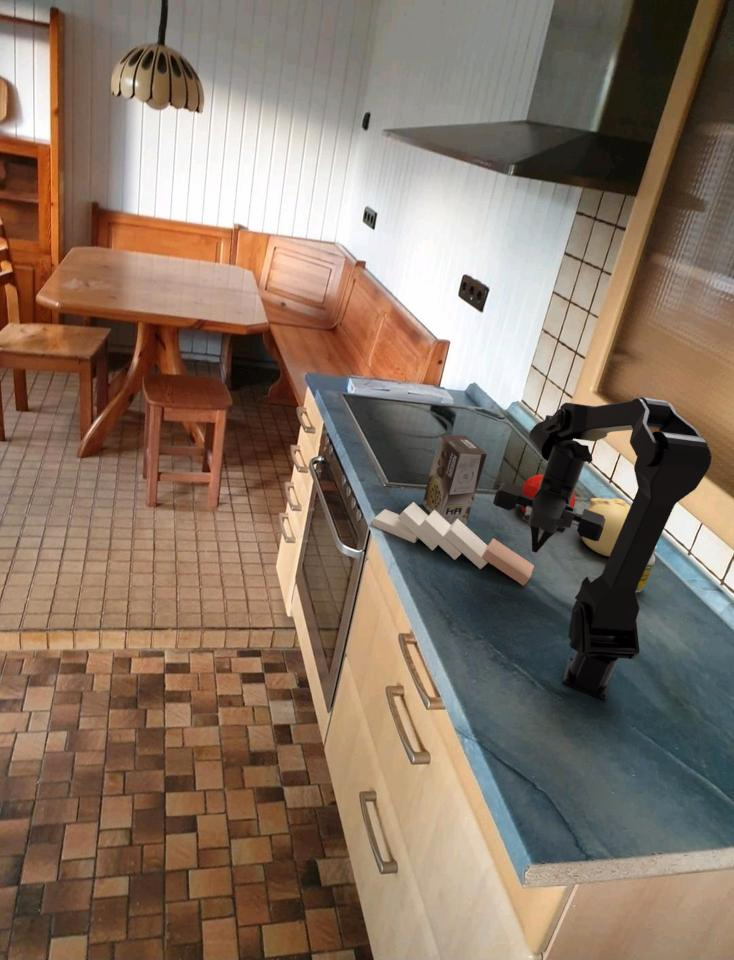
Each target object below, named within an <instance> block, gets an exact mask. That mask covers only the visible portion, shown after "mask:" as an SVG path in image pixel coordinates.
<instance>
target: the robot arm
mask: <svg viewBox="0 0 734 960" xmlns="http://www.w3.org/2000/svg"><path fill="white" fill-rule="evenodd" d="M651 429H655V430H657V431H653V432H652V431H651ZM623 431H632V432H631V435H630V438H629V444H630V446H631V448H632V450H633V452H634V454H635V456H636V459H635V462H634V463H635V464H634V467H633V471H634V475H635V479H636V484H637V491H636V493H635V495H634V498H633V501H632V503H631V504H630V506H631V507H630V510H629V512H628V514H627V517H626V519H625V521H624V524H623V526H622V528H621V531H620V533H619V535H618V538H617V540H616V542H615V545H614V547H613V550H612V552H611V554H610V557H609V556H608V559H607V561H606V564H605V565H604V569H603V571H602V573H601V574H600V575H599V576H598V577H594V576H585V577H584V579H583V580H582V582H581V584H580V585H581V586H580V587H579V588H580V589H579V591H578V593H577V594H576V596H574V599H575V602H574V605H573V606H572V610H571V611H572V612H571V616H570V622H569V630H568V635H567V636H568V638H569V640H570V643H569V647H570V648H571V649H572V650H574V651H575V654H574V656H573V657H568V659H567V662H566V665H565V671H564V675H563V679H562V682H563V684H565V685H566V686H569V687H571V688H573V689H576V690H578V691H579V692H580V691H581V692H583V693H585V694H588V695H590V696H592V697H595V698H597V699H599V700H602V701H606V700H607V698H608V696H609V695H608V694H609V689H610V682H611V676H612V674H613V672H614V670H615V667H616V664H617V663H618V660H619V659H628V660H634V659H635V658H636V657H637V656H638V655H639V654H640V644H639V642H640V641H639V635H638V634H639V632H638V623H637V618H638V616H639V613H640V610H641V608H640V604H639V600H638V596H637V595H638V594H637V593H636V589H637V586H638V584H639V582H640V580H641V578H642V575H643V573H644V571H645V569H646V567H647V564H648V562H649V560H650V558H651V556H652V554H653V551H654V549H655V547H656V545H658V542H659V540H660V538H661V536H662V534H663V531H664V529H665V527H666V525H667V523H668V521H669V519H670V517H671V514H672V512H673V510H674V507H675V505H676V504H677V503H679V502H680V501H682V500H683V499H684V498H686V496H688V495H690V493H692V492H694V491H695V490H696V489H697V487H698V486H699V485H700V483H701V482H702V481H703V478H704V477H705V475H706V474H707V472H708V471H709V468H710V467H711V463H712V458H713V457H712V453H711V449H710V448H709V444H708V443H707V442H706V440H705V439H704V438H703V437H702V435H701V434H700V432H699V430H698V429H697V428H695V427H694V426H693V425H692V424H691V423H689V421H687V420H686V419H684V418H683V417H682V416H681V415H679V414H678V413H677V411H676V409H675V407H674V406H673V405H672V404H671V402H670V403H669V402H668V401H667V400H664V399H663V400H661V399H655V398H649V397H642V396H640V397H638V398H634V399H632V400H626V401H620V402H614V403H607V404H602V405H601V404H600V405H587V404H579V403H574V402H573V403H572V402H564V403H563V404H561V405H560V406H559V408H558V409H557V410H556V412H554V413H553V415H548V414H547V415H545V418H544V420H543V421H540V422H538V423H537V424H535V425H534V426H533V427H532V429H531V430H530V431H529V435H528V440H529V442H530V445H531V446H532V447H533V448H534V449H535V451H537V453H538V454H539V455H540V456H541V458H542V459H544V460H545V461H546V462H547V463H546V466H545V469H544V471H543V474H542V475H543V477H542V480H541V483H540V486H539V489H538V491H537V492H536V494H535V497H534V498H531V497H528V496H526V495H523V494H522V493H523V490H524V488H523V487H522V486H520V485H518V484H515V483H511V482H509V481H504V482H502V483H501V484H500V486H499V487H498V489H497V491H496V493H495V496H494V498H493V501H492V504H493V505H494V506H496V507H499V508H501V509H503V510H507V511H511V510H514V509H516V506H517V505H518V506H520V507H521V506H524V507H526V512H525V513H524V515H523V518H522V519H523V520H524V521H526V522H528V525H530V526H529V527H530V532H531V551H532V552H533V553H535V554H537V553H538V552H539V551H540V550H541V548H542V547H543V546H544V544H546V542H547V541H548V540H549V539H550V538H551V537H552V536H553V535H555V534H556V533H560V534H563V533H565V530H566V528H568V529H570V528H571V527H572V525H575V526H577V529H576V531H577V533H578V535H579V536H580V537H581V538H582V537H584V538H587V539H590V540H593V541H599V539H600V536H601V534H602V531H603V528H604V524H605V518H604V515H601V514H598V513H595V512H592V511H589V510H587V509H588V508H587V509H586V508H584V509H583V511H582V514H580V513H577V510H578V508H577V507H575V506H574V507H571V506H570V501H571V498H572V496H573V493H574V494H575V490H576V487H577V485H578V482H579V479H580V476H581V473H582V472H583V471H582V470H583V468H584V466H585V463H592V462H593V455H592V453H591V452H590V449H589V448H590V447H589V445H587V444H586V445H585V444H581V442H578V441H576V440H581V441H588V442H596V441H600V440H602V439H604V438H606V437H608V434H609V433H613V432H615V433H616V432H623ZM542 529H544V530H543V532H542V533H541V530H542ZM540 535H541V536H540ZM653 555H654V554H653Z"/></svg>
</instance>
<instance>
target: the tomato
mask: <svg viewBox="0 0 734 960" xmlns="http://www.w3.org/2000/svg"><path fill="white" fill-rule="evenodd" d="M542 477H543V474H541V473H540V474H536V475H534V476H531V477H530V478H528V479H527V480H526V481H524V483H523V484H522V486H521V487H523V488H524V490H523V493H522V494H523V495H526V496H528V497H531V498H534V497H535V494H536V492H537V491H538V489H539V486H540V483H541V480H542ZM575 503H576V493H575V492H574V493H573V496H572V498H571V501H570V506H571V507H574V508H575ZM520 509H521V510H522V511H523V513H524V514H525V512H526V507H524V506H521V505H520Z"/></svg>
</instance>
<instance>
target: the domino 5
mask: <svg viewBox="0 0 734 960" xmlns="http://www.w3.org/2000/svg"><path fill="white" fill-rule="evenodd" d="M482 558H483V559H485V560H486V561H488V563H489V564H490V565H492V566H494V567H495V568H496V569H498V570H499V571H501V572H502V573H504V574H505V575H507V576H508V577H510V578H511V579H512V580H514V581H516V582H517V583H519V584H520V585H521V586H523V587H524V586H525V585H526V584H527V583H528V581H529V580H530V579H531V575H532V573H533V571H534V568H535V565H534V564H533V563H531V562H530V561H528V560H527V559H525V558H523V557H522V556H520V555H519V554H518V553H516V552H515V551H514V550H512V549H510V548H509V547H508V546H506V545H504V544H503V543H501V542H500V541H498V540H497V539H495V538H492V539H491V541H490V542H489V543H488V544H487V548H486V550H485V552H484V554H483V556H482Z"/></svg>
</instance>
